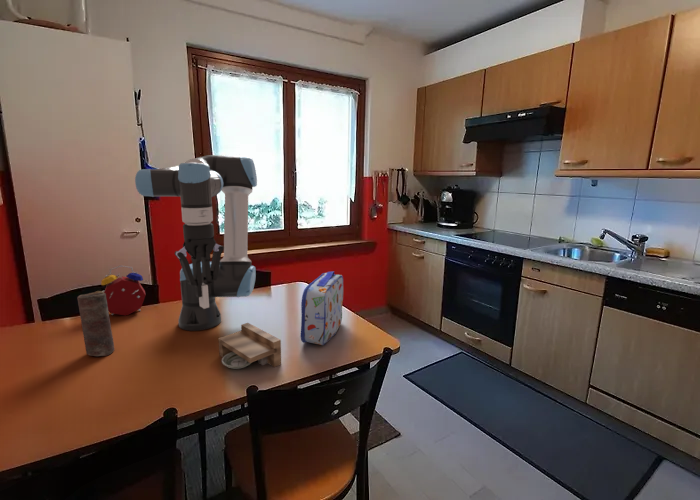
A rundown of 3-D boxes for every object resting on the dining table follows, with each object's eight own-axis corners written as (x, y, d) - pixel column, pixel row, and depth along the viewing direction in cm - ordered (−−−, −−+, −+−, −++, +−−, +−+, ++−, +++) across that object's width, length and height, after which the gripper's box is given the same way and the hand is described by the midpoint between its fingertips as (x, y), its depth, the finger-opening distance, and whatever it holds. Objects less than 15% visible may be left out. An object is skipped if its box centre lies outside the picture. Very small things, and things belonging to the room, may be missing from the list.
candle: (83, 361, 111) (74, 298, 107) (87, 350, 118) (79, 291, 114) (113, 355, 115) (105, 294, 111) (115, 345, 121) (108, 287, 117)
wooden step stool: (219, 355, 116) (218, 332, 114) (248, 344, 123) (247, 322, 122) (251, 377, 104) (249, 351, 102) (281, 364, 111) (280, 339, 110)
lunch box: (320, 317, 148) (320, 264, 143) (345, 320, 146) (346, 266, 141) (297, 349, 121) (296, 285, 117) (327, 352, 119) (327, 287, 115)
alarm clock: (146, 307, 155) (141, 261, 151) (147, 314, 148) (142, 266, 144) (104, 313, 147) (98, 265, 143) (103, 321, 140) (97, 270, 136)
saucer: (223, 376, 105) (223, 368, 104) (220, 360, 113) (220, 353, 113) (258, 369, 109) (257, 362, 108) (252, 354, 117) (252, 347, 117)
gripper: (179, 227, 90) (187, 317, 95) (228, 222, 99) (232, 304, 104) (166, 223, 95) (174, 309, 100) (214, 219, 104) (219, 297, 109)
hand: (204, 306), depth 102 cm, fingers closed
